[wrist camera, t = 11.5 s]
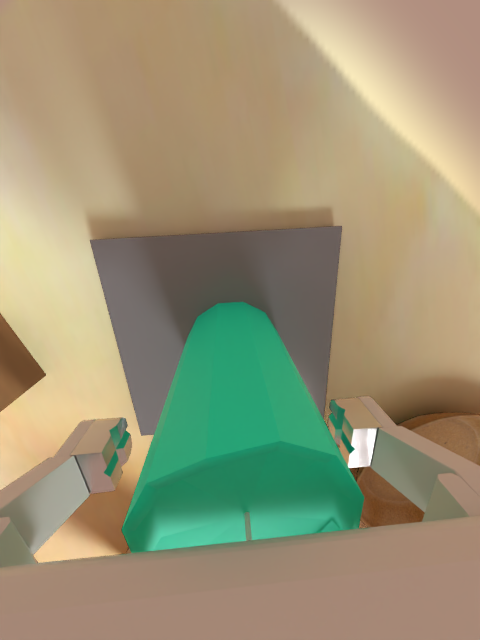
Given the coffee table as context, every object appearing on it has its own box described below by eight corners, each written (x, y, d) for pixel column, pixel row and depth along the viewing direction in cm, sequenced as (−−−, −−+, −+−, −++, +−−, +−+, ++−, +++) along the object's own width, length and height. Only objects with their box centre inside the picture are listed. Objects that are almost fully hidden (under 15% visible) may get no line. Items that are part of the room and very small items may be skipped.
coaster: (334, 226, 14) (342, 226, 13) (318, 410, 19) (323, 419, 18) (98, 239, 14) (89, 239, 13) (145, 425, 19) (141, 435, 18)
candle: (172, 318, 15) (7, 597, 4) (264, 288, 14) (406, 489, 3) (206, 392, 17) (170, 715, 6) (287, 368, 17) (420, 657, 5)
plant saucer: (317, 501, 24) (328, 532, 21) (382, 379, 19) (406, 401, 17) (440, 514, 26) (463, 544, 24) (527, 408, 21) (566, 431, 19)
